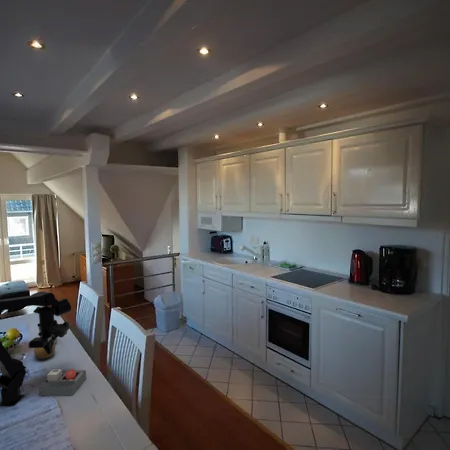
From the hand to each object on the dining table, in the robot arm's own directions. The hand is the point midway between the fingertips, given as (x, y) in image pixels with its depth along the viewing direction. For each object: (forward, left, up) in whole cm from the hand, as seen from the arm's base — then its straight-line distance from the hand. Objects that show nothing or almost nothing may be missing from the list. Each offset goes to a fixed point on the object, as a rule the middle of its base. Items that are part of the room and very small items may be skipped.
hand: (49, 353), depth 141 cm
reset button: (-6, -12, -10) cm, 17 cm away
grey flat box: (-6, -9, -12) cm, 16 cm away
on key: (-6, -5, -10) cm, 13 cm away
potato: (+21, +16, -12) cm, 29 cm away
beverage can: (+34, +22, -12) cm, 42 cm away
